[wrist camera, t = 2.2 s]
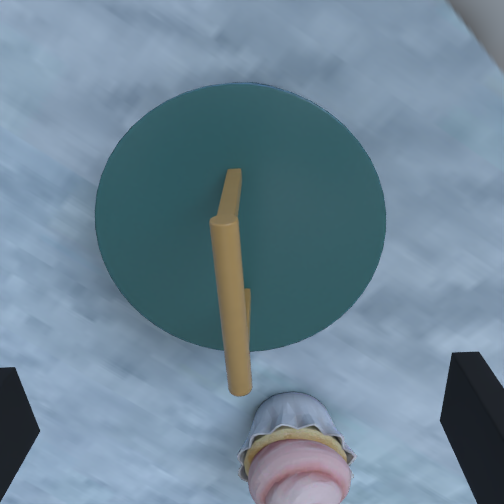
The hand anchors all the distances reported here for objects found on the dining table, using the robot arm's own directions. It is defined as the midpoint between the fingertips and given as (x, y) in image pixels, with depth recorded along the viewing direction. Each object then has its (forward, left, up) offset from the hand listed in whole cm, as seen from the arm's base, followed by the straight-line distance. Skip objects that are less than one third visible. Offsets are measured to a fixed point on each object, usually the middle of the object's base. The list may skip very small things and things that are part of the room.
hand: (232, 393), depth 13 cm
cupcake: (+11, -17, -18) cm, 27 cm away
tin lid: (0, 0, -12) cm, 12 cm away
